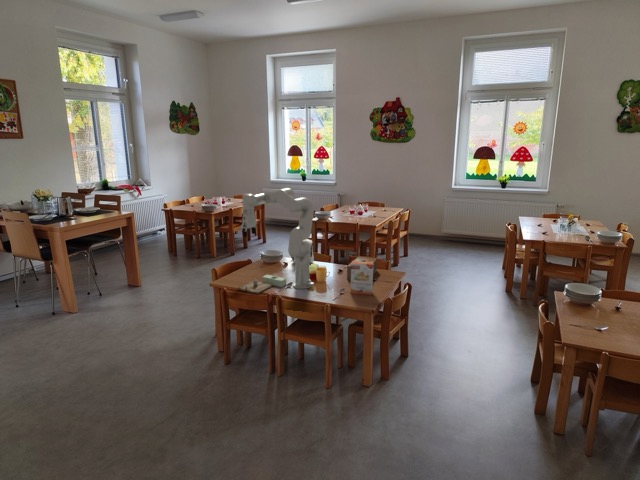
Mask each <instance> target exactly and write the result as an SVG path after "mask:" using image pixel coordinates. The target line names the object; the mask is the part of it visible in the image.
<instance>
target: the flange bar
mask: <svg viewBox="0 0 640 480" xmlns="http://www.w3.org/2000/svg"><path fill="white" fill-rule="evenodd" d="M261 279H262V283H266V284H271V285H272V286H275V287H280V288H282V287H283V288H284V286H286V285H287V278H284V277H280V276H276V275H271V274H265V275H263V276H262V277H261Z"/></svg>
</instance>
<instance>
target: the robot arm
mask: <svg viewBox="0 0 640 480" xmlns="http://www.w3.org/2000/svg"><path fill="white" fill-rule="evenodd" d="M265 204H280V205H281V206H282V207H283V208H285V209H286V210H288V211H289V212H290V213H294V214H297V213H299V212H301V214H300V215H299V222H298V225H297V226H296V227H294V228H293V229H292V230H291V231H290V233H289V240H288V249H287V250H288V254H289V256H290V257H291V259H292V258H296V259H295V263H294V266H295V267H294V269H295V273H294V274H295V277H294V278H295V282H294V283H292V286H293V287H294V289H298V290H306V289H307V290H308V289H310V288H311V287H314V286H315V281H314V282H313V281H312V280H311V279H310V265H311V264H310V251H311V246H310V243H309V242H308V241H306V239H309V238H310V237H311V233H312V227H313V221H314V220H313V218H314V212H315V208H314V203H313V202H312V201H311V200H310V199H309V198H307V197H304V196H303V197H298V198H295V191H294V190H293V189H292V188H289V187H284V188H280V189H275V190H271V191H267V192H261V193H257V194H253V193H243V194H242V222H241V223H242V224H241V225H240V227H239V228H240V230H241V232H242V236H243V238H244V237H245V238H247V237H248V232H247V230H248V229H251V235H256V231H257V226H258V221H257V219H256V213H255V207H257V206H260V205H265Z"/></svg>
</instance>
